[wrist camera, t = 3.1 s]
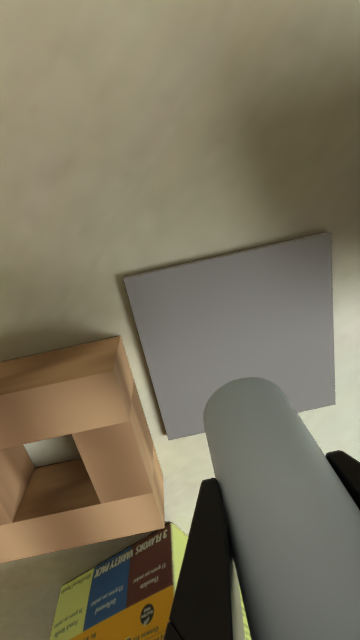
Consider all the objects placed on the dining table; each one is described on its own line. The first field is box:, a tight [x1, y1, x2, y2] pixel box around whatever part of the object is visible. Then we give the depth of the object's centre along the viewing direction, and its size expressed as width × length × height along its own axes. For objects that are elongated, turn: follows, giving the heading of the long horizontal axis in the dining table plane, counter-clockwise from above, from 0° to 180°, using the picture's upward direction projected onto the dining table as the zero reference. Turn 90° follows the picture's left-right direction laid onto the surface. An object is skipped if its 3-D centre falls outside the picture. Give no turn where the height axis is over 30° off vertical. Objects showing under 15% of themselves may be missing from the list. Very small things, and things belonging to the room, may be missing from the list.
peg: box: [203, 377, 360, 640], centre depth 7 cm, size 3×3×9 cm
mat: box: [123, 232, 335, 440], centre depth 18 cm, size 10×10×1 cm
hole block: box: [0, 336, 165, 563], centre depth 18 cm, size 10×10×4 cm
